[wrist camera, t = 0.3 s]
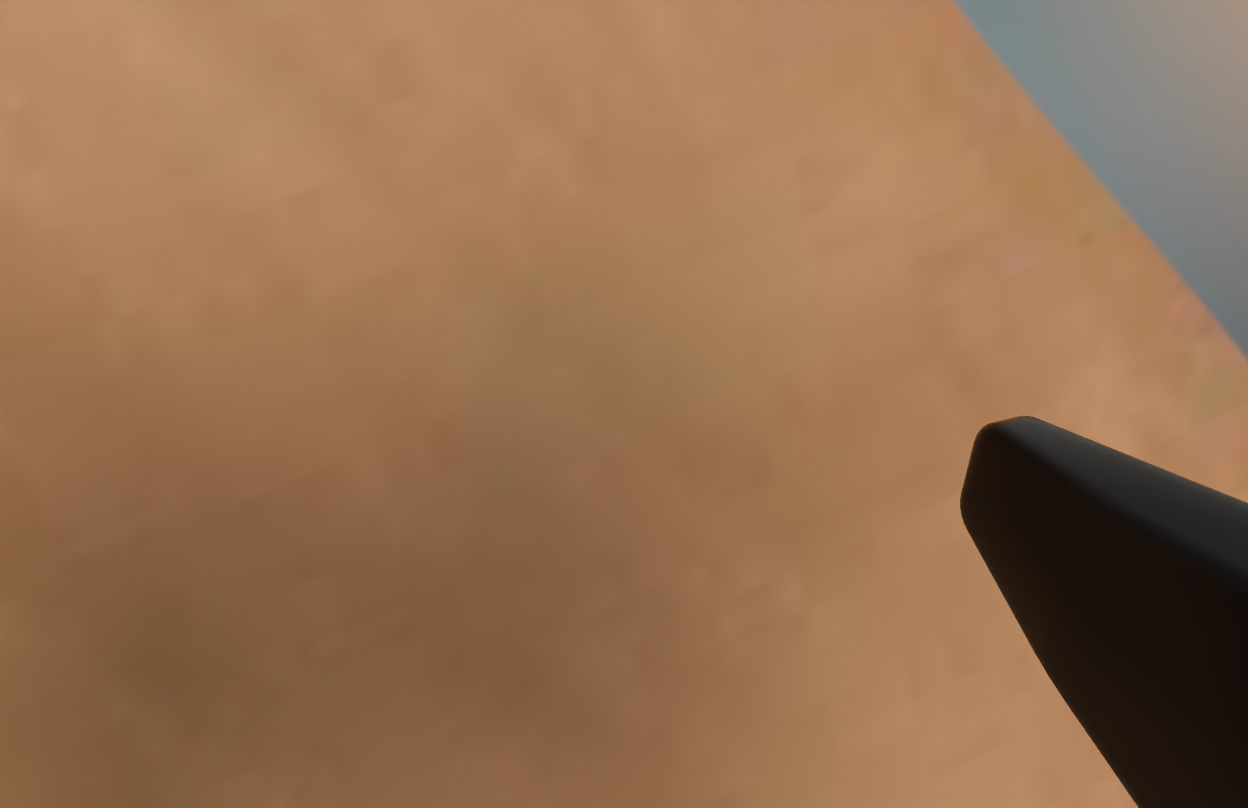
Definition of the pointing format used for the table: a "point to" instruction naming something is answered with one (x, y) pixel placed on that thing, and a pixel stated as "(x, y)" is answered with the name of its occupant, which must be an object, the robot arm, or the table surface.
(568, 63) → the table surface
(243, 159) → the table surface
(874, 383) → the table surface
